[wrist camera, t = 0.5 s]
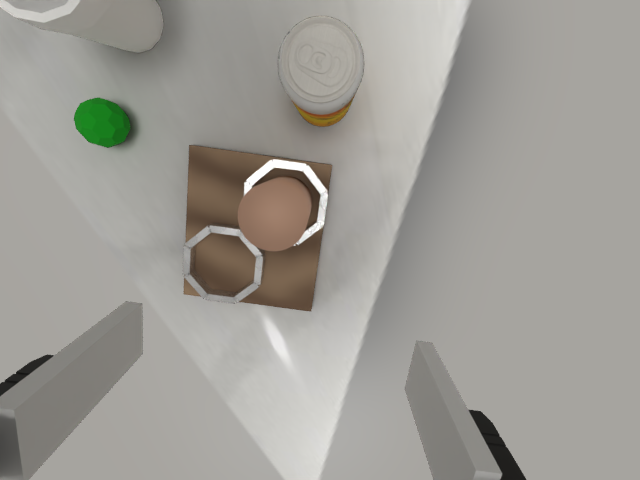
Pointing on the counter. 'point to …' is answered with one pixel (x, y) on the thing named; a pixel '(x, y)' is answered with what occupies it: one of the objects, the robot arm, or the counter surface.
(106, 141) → the polyhedron
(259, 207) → the pin
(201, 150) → the pin board
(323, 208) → the socket collars
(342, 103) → the beer can
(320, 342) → the counter surface
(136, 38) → the foam cup
